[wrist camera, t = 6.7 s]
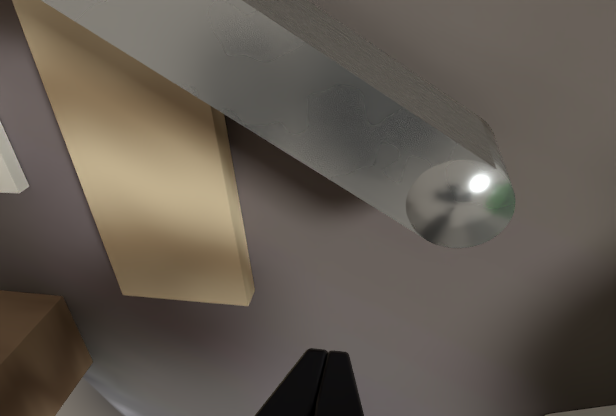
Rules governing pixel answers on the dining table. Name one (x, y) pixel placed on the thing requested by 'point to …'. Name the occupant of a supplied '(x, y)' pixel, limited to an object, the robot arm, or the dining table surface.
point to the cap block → (38, 354)
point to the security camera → (589, 412)
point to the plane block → (144, 165)
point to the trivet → (10, 168)
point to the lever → (323, 104)
